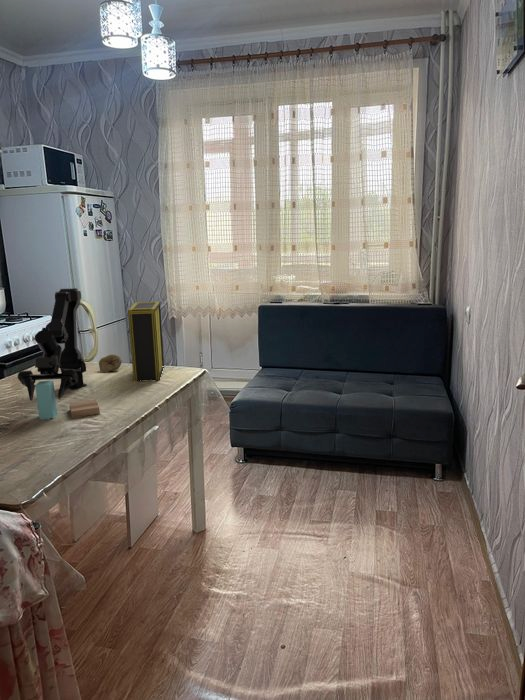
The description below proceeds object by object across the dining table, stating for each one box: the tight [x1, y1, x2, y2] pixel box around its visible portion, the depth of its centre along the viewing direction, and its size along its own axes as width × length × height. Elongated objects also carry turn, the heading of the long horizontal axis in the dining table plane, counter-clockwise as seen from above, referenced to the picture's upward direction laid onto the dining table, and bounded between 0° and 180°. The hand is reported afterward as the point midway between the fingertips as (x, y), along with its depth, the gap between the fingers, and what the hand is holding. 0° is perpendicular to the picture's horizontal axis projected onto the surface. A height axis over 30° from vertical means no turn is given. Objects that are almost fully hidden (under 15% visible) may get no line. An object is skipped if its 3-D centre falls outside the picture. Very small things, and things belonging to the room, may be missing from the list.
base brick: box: [68, 399, 101, 419], centre depth 183 cm, size 9×9×2 cm
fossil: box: [98, 354, 123, 373], centre depth 235 cm, size 9×4×10 cm
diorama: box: [127, 301, 165, 382], centre depth 224 cm, size 21×11×30 cm, turn 5°
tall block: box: [34, 380, 58, 420], centre depth 178 cm, size 4×4×12 cm
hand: (44, 399), depth 177 cm, fingers open, 9 cm apart
